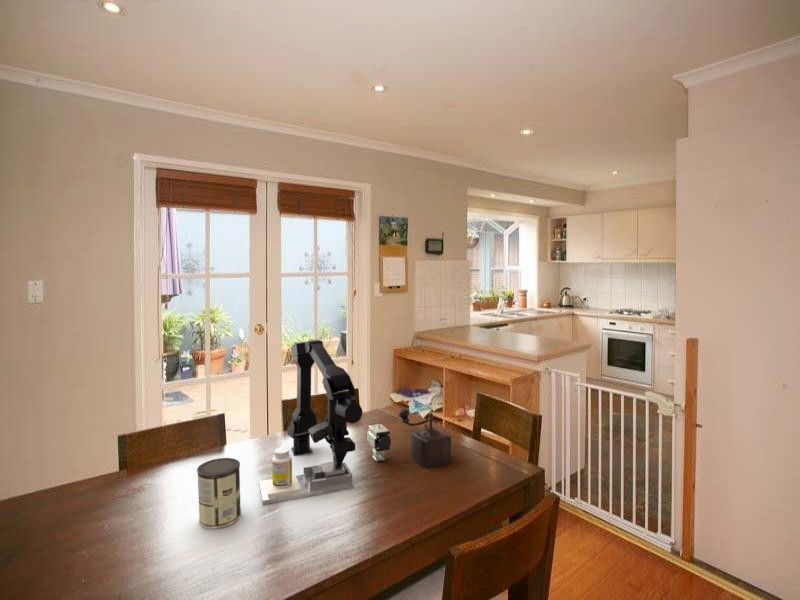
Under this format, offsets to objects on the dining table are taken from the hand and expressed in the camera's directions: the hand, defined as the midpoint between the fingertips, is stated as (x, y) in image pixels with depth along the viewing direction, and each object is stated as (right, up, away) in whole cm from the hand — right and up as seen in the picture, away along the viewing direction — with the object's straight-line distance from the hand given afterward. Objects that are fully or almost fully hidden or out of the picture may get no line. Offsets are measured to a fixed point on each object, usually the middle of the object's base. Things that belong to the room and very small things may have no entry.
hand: (337, 464), depth 139 cm
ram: (-3, -4, -1) cm, 5 cm away
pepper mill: (+27, -5, +15) cm, 31 cm away
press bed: (-15, -5, -6) cm, 17 cm away
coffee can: (-28, -7, -20) cm, 35 cm away
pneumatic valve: (+11, -5, +17) cm, 21 cm away
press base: (-9, -6, -3) cm, 11 cm away
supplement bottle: (-15, -4, -6) cm, 17 cm away
